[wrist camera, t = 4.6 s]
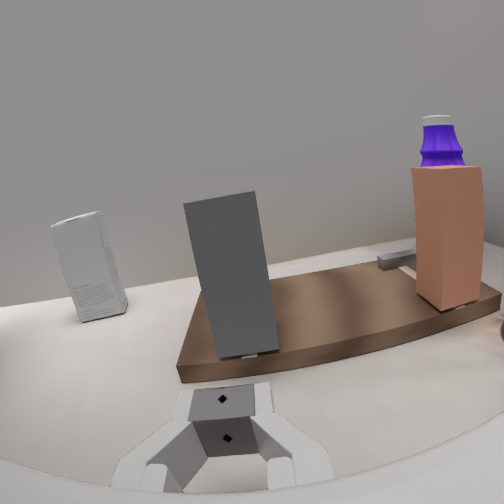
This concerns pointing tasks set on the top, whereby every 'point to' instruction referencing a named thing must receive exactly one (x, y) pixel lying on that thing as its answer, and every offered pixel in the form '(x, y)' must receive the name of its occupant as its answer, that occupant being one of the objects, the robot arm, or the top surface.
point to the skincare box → (89, 266)
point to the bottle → (440, 142)
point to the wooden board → (333, 319)
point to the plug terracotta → (448, 233)
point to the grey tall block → (233, 271)
